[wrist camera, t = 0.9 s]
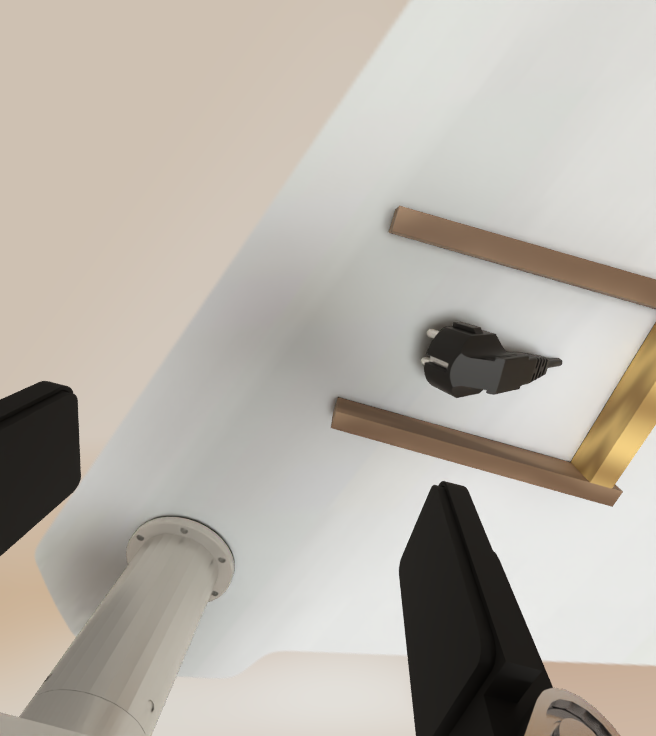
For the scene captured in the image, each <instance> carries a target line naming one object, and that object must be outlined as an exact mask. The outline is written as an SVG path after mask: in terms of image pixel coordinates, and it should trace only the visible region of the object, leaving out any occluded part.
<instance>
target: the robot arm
mask: <svg viewBox="0 0 656 736" xmlns="http://www.w3.org/2000/svg"><path fill="white" fill-rule="evenodd" d="M79 447H80V446H79V423H78V400H77V397H76V395H75V394H73V391H72V389H71V388H70V387H68V386H64V385H60V384H56V383H52V382H48V381H42V382H38V383H36V384H34V385H32V386H30V387H28V388H25V389H23V390H21V391H18V392H16V393H14V394H12V395H10V396H8V397H5V398H3V399H1V400H0V556H1V555H2V554H3V553H4V552H6V551H7V550H8V549H9V548H10V547H11V546H12V545H13V544H15V543H16V542H17V541H18V540H19V539H20V538H22V537H23V536H24V535H25V534H26V533H27V532H28V531H29V530H31V529H32V528H33V527H34V526H35V525H36V524H37V523H38V522H40V521H41V520H42V519H43V518H44V517H45V516H46V515H48V514H49V513H50V512H51V511H52V510H53V509H54V508H55V507H57V506H58V505H59V504H60V503H61V502H62V501H63V500H65V499H66V498H67V497H68V496H69V495H70V494H71V493H73V492H74V490H75V489H76V488H77V486H78V485H79V482H80V479H81V472H80V449H79ZM126 558H127V563H128V566H127V568H126V569H125V570H124V572H123V573H122V575H121V576H120V577H119V579H118V580H117V581H116V583H115V584H114V586H113V587H112V588H111V590H110V591H109V593H108V594H107V595H106V597H105V598H104V600H103V601H102V602H101V604H100V605H99V606H98V608H97V609H96V611H95V612H94V613H93V615H92V616H91V618H90V619H89V620H88V622H87V623H86V625H85V626H84V627H83V629H82V630H81V631H80V633H79V634H78V636H77V637H76V638H75V640H74V641H73V643H72V644H71V645H70V647H69V648H68V650H67V651H66V652H65V654H64V655H63V657H62V658H61V659H60V661H59V662H58V664H57V665H56V666H55V668H54V669H53V670H52V672H51V673H50V675H49V676H48V677H47V679H46V680H45V681H44V683H43V684H42V686H41V687H40V689H39V690H38V691H37V693H36V694H35V696H34V697H33V698H32V700H31V701H30V702H29V704H28V705H27V707H26V708H25V710H24V711H23V712H22V714H21V715H20V716H19V717H16V716H12V715H8V714H4V713H0V736H151V735H152V733H153V730H154V728H155V726H156V723H157V721H158V719H159V716H160V714H161V711H162V709H163V707H164V704H165V702H166V700H167V697H168V695H169V692H170V690H171V688H172V685H173V683H174V681H175V678H176V676H177V674H178V671H179V669H180V667H181V664H182V662H183V659H184V657H185V655H186V652H187V650H188V648H189V645H190V643H191V640H192V638H193V636H194V633H195V631H196V629H197V626H198V624H199V622H200V619H201V617H202V614H203V612H204V610H205V607H206V605H207V603H208V602H210V601H213V600H215V599H217V598H218V597H220V596H221V595H222V594H223V593H224V592H225V591H226V590H227V588H228V587H229V585H230V582H231V580H232V577H233V573H234V561H233V557H232V554H231V552H230V550H229V548H228V546H227V545H226V544H225V542H224V541H223V540H222V539H221V538H220V537H219V536H218V535H217V534H216V533H215V532H214V531H212V530H211V529H209V528H208V527H206V526H204V525H202V524H200V523H198V522H195V521H192V520H189V519H185V518H179V517H162V518H156V519H153V520H151V521H148V522H146V523H145V524H143V525H142V526H140V527H139V528H138V530H137V531H136V532H135V533H134V534H133V536H132V537H131V539H130V540H129V542H128V545H127V549H126ZM399 579H400V588H401V598H402V607H403V617H404V626H405V636H406V645H407V655H408V664H409V674H410V683H411V693H412V702H413V711H414V722H415V731H416V736H620V735H619V733H618V732H617V731H616V729H615V728H614V727H613V725H612V724H611V723H610V722H609V721H608V720H607V719H606V718H605V717H604V716H603V715H602V714H601V713H600V712H599V711H598V710H597V709H596V708H595V707H593V706H592V705H590V704H589V703H588V702H587V701H585V700H584V699H582V698H581V697H580V696H578V695H576V694H573V693H571V692H569V691H567V690H565V689H558V688H553V687H552V684H551V682H550V679H549V677H548V675H547V672H546V670H545V668H544V665H543V663H542V660H541V658H540V656H539V653H538V651H537V648H536V646H535V644H534V641H533V639H532V636H531V634H530V632H529V629H528V627H527V625H526V622H525V620H524V617H523V615H522V613H521V610H520V608H519V605H518V603H517V601H516V598H515V596H514V594H513V591H512V589H511V586H510V584H509V582H508V579H507V577H506V574H505V572H504V570H503V567H502V565H501V563H500V560H499V558H498V557H497V555H496V553H495V552H494V551H493V550H492V548H491V545H490V543H489V540H488V538H487V535H486V533H485V530H484V528H483V526H482V523H481V521H480V518H479V516H478V513H477V511H476V509H475V506H474V504H473V501H472V499H471V496H470V494H469V492H468V490H467V488H466V487H464V486H461V485H457V484H453V483H449V482H445V481H442V482H441V483H440V484H439V486H437V485H433V486H432V487H431V489H430V492H429V494H428V496H427V499H426V501H425V503H424V506H423V508H422V510H421V513H420V515H419V518H418V520H417V522H416V525H415V527H414V529H413V532H412V534H411V536H410V539H409V541H408V543H407V546H406V548H405V550H404V553H403V555H402V558H401V560H400V566H399Z"/></svg>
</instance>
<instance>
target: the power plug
mask: <svg viewBox="0 0 656 736" xmlns="http://www.w3.org/2000/svg"><path fill="white" fill-rule="evenodd" d="M427 336H428V337H430V338H433V340H432V342H431V344H430V346H429V348H428V350H427V353H426V354H427V355H429V356H430V358H428V357H423V358H422V359H421V363H422V364H423V365H424V372H425V376H426V379H427V381H428V382H429V383H430V384H431V385H432V386H434V387H436V388H438V389H440V390H442V391H444V392H446V393H448V394H450V395H452V396H454V397H456V398H459V397H464V396H468V395H473V394H478V393H480V392H481V391H482V390H483V389H484V390H487V392H486V393H488V394H499V393H503V392H507V391H512V390H517V389H519V388H520V386H522V385H524V384H528V383H530V382H532V381H534V380H536V379H537V378H539V377H541V376H543V375H545V374H546V371H547V368H550V367H556V366H560V365H562V360H561V359H559V358H557V359H550V360H549V359H548V358H545V357H542V356H539V355H533V354H526V353H520V352H507V351H505V350H504V348H503V347H502V345H501V343H500V341H499V339H498V337H497V336H496V334H493V333H490V332H487V331H483V330H482V329H481V328H480V327H477V326H473V325H470V324H466V323H463V322H453V327H444V328H443V329H441V330H440V331H438V330H435V329H429V330H428V331H427Z"/></svg>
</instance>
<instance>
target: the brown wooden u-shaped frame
mask: <svg viewBox="0 0 656 736" xmlns="http://www.w3.org/2000/svg"><path fill="white" fill-rule="evenodd" d="M389 233H392V234H396V235H399V236H403V237H406V238H410V239H413V240H417V241H420V242H424V243H427V244H430V245H434V246H437V247H441V248H444V249H448V250H451V251H455V252H458V253H462V254H465V255H469V256H472V257H476V258H479V259H483V260H486V261H490V262H493V263H497V264H500V265H504V266H507V267H511V268H514V269H518V270H521V271H524V272H528V273H531V274H535V275H538V276H542V277H545V278H549V279H552V280H556V281H559V282H563V283H566V284H570V285H573V286H577V287H580V288H584V289H587V290H591V291H594V292H598V293H601V294H605V295H608V296H612V297H615V298H619V299H622V300H625V301H629V302H632V303H636V304H639V305H643V306H646V307H650V308H653V309H656V280H655V279H652V278H648V277H645V276H641V275H638V274H634V273H631V272H627V271H624V270H620V269H617V268H613V267H610V266H606V265H603V264H600V263H596V262H593V261H589V260H586V259H582V258H579V257H575V256H572V255H568V254H565V253H561V252H558V251H554V250H551V249H547V248H544V247H541V246H537V245H534V244H530V243H527V242H523V241H520V240H516V239H513V238H509V237H506V236H502V235H499V234H495V233H492V232H489V231H485V230H482V229H478V228H475V227H471V226H468V225H464V224H461V223H457V222H454V221H450V220H447V219H443V218H440V217H436V216H433V215H430V214H426V213H423V212H419V211H416V210H412V209H409V208H405V207H402V206H399V207H398V208H397V209H396V210H395V213H394V216H393V219H392V223H391V226H390V229H389ZM655 425H656V323H655V325H654V326H653V328H652V330H651V331H650V333H649V334H648V336H647V338H646V339H645V341H644V343H643V344H642V346H641V348H640V349H639V351H638V353H637V354H636V356H635V357H634V359H633V361H632V362H631V364H630V366H629V367H628V369H627V371H626V372H625V374H624V375H623V377H622V379H621V380H620V382H619V384H618V385H617V387H616V389H615V390H614V392H613V393H612V395H611V397H610V398H609V400H608V402H607V403H606V405H605V407H604V408H603V410H602V411H601V413H600V415H599V416H598V418H597V420H596V421H595V423H594V425H593V426H592V428H591V430H590V431H589V433H588V434H587V436H586V438H585V439H584V441H583V443H582V444H581V446H580V448H579V449H578V451H577V452H576V454H575V456H574V457H573V459H572V461H571V462H567V461H564V460H560V459H557V458H553V457H550V456H546V455H543V454H539V453H535V452H532V451H528V450H525V449H521V448H518V447H514V446H511V445H507V444H503V443H500V442H496V441H493V440H489V439H486V438H482V437H478V436H475V435H471V434H468V433H464V432H461V431H457V430H454V429H450V428H446V427H443V426H439V425H436V424H432V423H429V422H425V421H422V420H418V419H414V418H411V417H407V416H404V415H400V414H397V413H393V412H389V411H386V410H382V409H379V408H375V407H372V406H368V405H365V404H361V403H357V402H354V401H350V400H347V399H343V398H340V397H338V399H337V402H336V405H335V408H334V412H333V417H332V424H331V428H333V429H337V430H340V431H344V432H347V433H351V434H355V435H358V436H362V437H365V438H369V439H372V440H376V441H380V442H383V443H387V444H390V445H394V446H397V447H401V448H405V449H408V450H412V451H415V452H419V453H422V454H426V455H430V456H433V457H437V458H440V459H444V460H447V461H451V462H455V463H458V464H462V465H465V466H469V467H472V468H476V469H480V470H483V471H487V472H490V473H494V474H497V475H501V476H505V477H508V478H512V479H515V480H519V481H523V482H526V483H530V484H533V485H537V486H540V487H544V488H548V489H551V490H555V491H558V492H562V493H565V494H569V495H573V496H576V497H580V498H583V499H587V500H590V501H594V502H598V503H601V504H605V505H608V506H612V507H613V505H614V504H615V502H616V501H617V499H618V498H619V497H620V495H621V494H622V492H623V491H622V490H621V489H619V488H618V487H617V486H616V485H615V483H616V482H617V481H618V479H619V478H620V476H621V475H622V473H623V472H624V470H625V469H626V467H627V466H628V464H629V463H630V461H631V460H632V458H633V457H634V456H635V454H636V453H637V451H638V450H639V448H640V447H641V445H642V444H643V442H644V441H645V439H646V438H647V436H648V435H649V434H650V432H651V431H652V429H653V428H654V426H655Z"/></svg>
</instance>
